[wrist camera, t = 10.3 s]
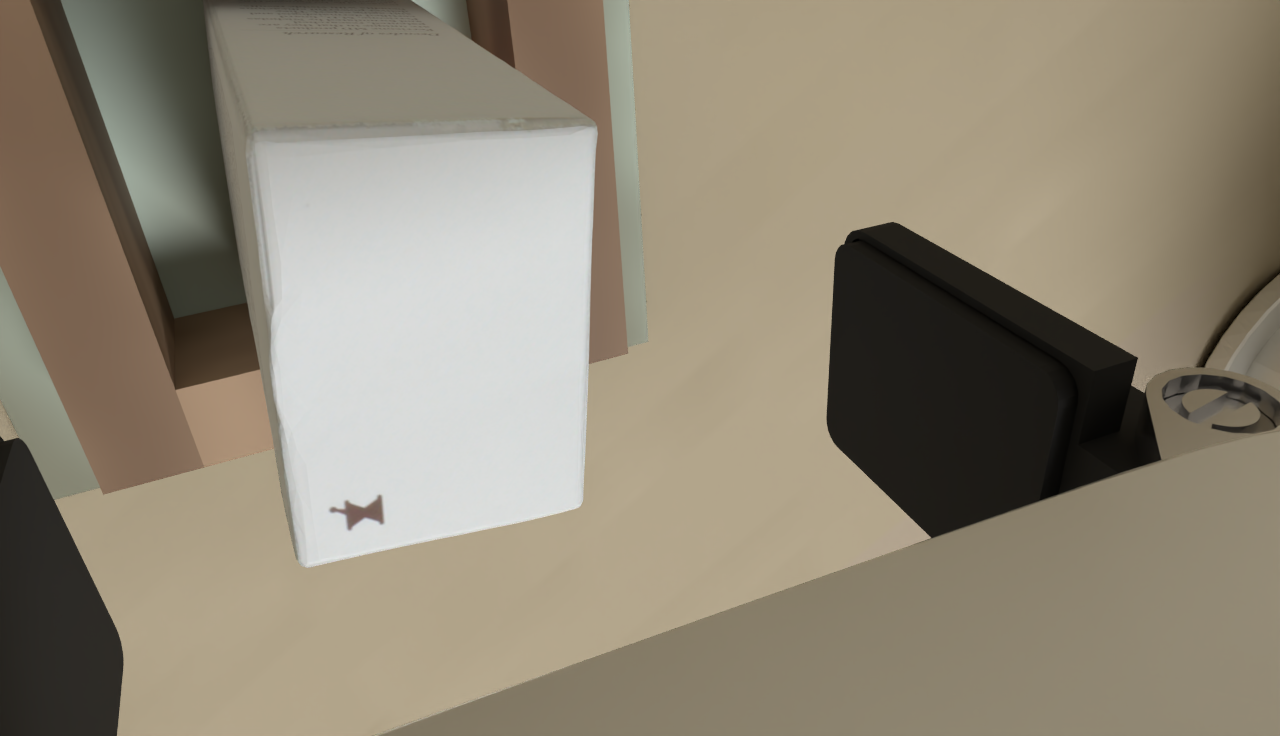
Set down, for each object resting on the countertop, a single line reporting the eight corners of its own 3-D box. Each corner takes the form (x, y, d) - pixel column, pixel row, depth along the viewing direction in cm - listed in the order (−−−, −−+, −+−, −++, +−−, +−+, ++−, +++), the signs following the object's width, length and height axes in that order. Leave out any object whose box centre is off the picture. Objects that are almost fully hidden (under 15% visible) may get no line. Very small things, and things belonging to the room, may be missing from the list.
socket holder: (593, -317, 20) (683, -346, 17) (635, 327, 29) (701, 399, 25) (-319, -294, 15) (-464, -328, 12) (54, 478, 24) (34, 594, 20)
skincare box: (419, 240, 24) (588, 522, 14) (236, 255, 22) (289, 585, 13) (408, -19, 21) (611, 117, 11) (196, -24, 19) (225, 130, 10)
